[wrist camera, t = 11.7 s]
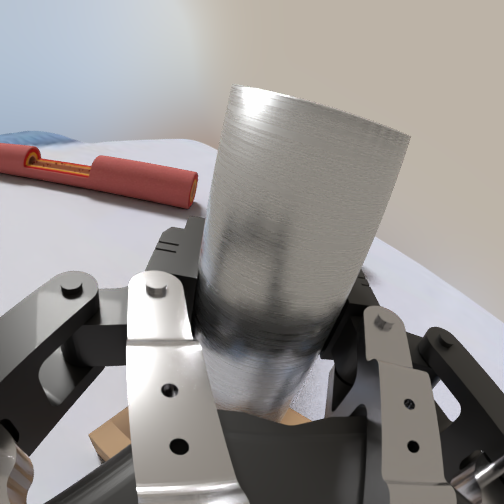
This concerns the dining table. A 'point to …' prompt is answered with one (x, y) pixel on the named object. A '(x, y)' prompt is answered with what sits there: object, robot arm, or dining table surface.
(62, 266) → the dining table surface
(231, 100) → the steel axle
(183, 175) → the blood vessel
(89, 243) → the dining table surface
